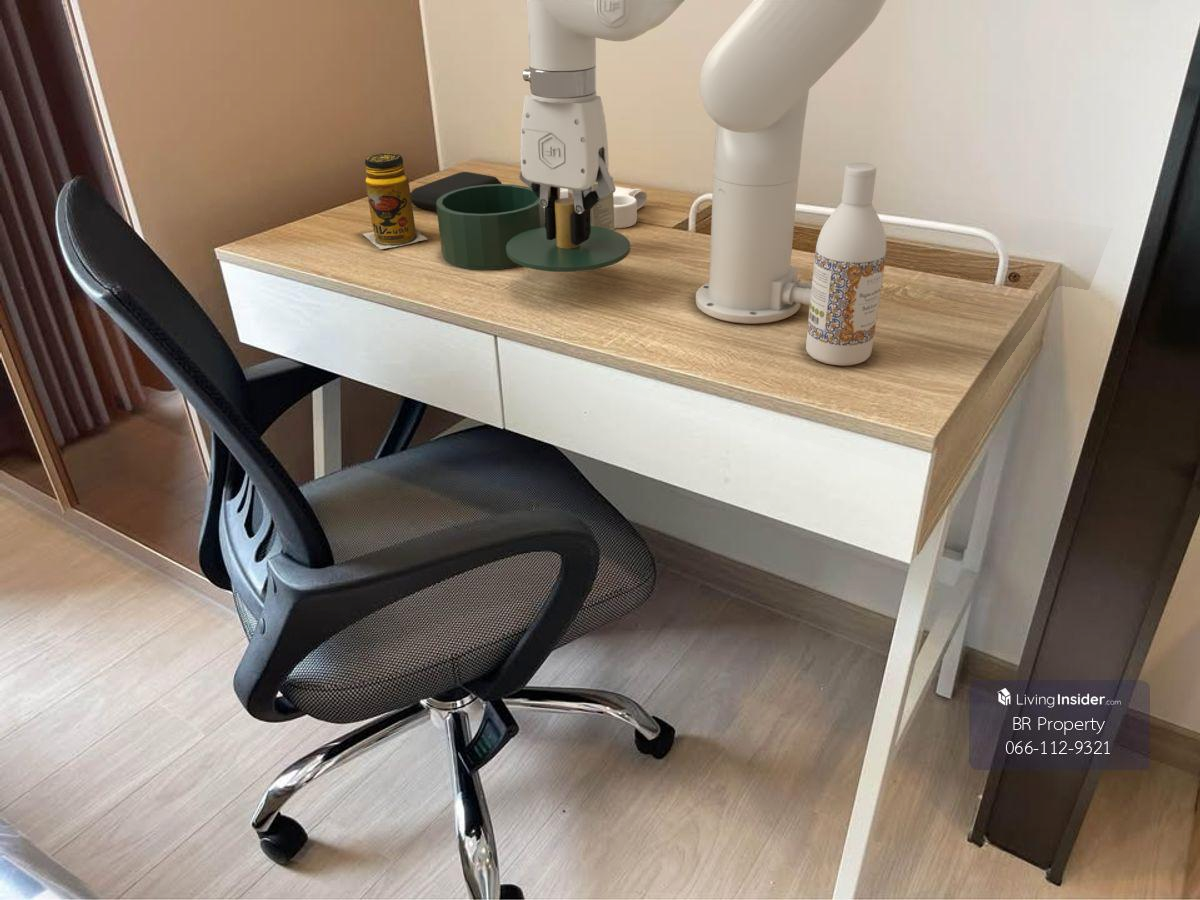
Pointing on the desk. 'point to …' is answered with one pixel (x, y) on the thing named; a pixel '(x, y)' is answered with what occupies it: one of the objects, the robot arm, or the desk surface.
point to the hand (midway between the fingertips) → (568, 237)
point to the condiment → (389, 202)
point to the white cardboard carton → (601, 210)
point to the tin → (485, 223)
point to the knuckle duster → (622, 205)
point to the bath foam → (847, 275)
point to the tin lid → (567, 246)
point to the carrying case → (447, 188)
